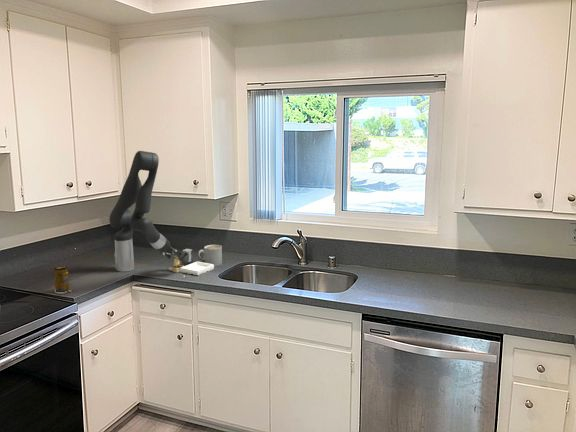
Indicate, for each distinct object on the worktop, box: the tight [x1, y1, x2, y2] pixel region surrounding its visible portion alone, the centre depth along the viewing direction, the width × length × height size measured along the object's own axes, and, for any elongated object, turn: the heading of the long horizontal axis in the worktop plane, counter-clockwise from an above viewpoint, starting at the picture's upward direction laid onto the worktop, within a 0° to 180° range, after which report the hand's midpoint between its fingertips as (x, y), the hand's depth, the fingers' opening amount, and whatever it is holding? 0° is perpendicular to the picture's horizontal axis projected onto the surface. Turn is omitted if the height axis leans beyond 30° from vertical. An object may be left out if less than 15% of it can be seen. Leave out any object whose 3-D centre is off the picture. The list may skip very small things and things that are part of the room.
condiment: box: [53, 265, 70, 292], centre depth 221 cm, size 7×8×12 cm
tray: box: [179, 260, 215, 276], centre depth 254 cm, size 12×14×2 cm
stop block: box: [169, 264, 184, 273], centre depth 254 cm, size 6×6×2 cm
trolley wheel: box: [181, 248, 194, 266], centre depth 261 cm, size 4×7×10 cm, turn 151°
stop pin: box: [172, 253, 181, 268], centre depth 254 cm, size 4×4×10 cm
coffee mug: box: [197, 244, 223, 267], centre depth 266 cm, size 13×10×10 cm
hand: (175, 258), depth 252 cm, fingers open, 8 cm apart
